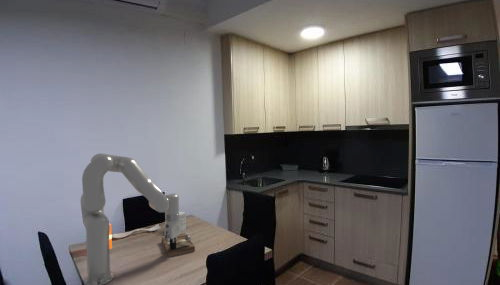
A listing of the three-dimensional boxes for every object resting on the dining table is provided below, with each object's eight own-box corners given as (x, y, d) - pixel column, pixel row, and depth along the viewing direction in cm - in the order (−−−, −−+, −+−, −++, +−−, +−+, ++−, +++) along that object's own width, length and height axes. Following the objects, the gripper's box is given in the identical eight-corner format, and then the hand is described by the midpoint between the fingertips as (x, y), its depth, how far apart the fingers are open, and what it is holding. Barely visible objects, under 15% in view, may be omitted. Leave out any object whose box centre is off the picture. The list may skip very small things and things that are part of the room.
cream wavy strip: (161, 231, 191) (161, 226, 191) (111, 241, 174) (111, 236, 174) (159, 228, 199) (158, 223, 198) (110, 237, 182) (110, 232, 182)
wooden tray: (194, 251, 157) (194, 241, 157) (168, 257, 150) (168, 246, 150) (185, 237, 178) (184, 228, 178) (161, 242, 172) (161, 232, 171)
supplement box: (171, 231, 191) (170, 213, 190) (178, 227, 197) (178, 210, 197) (179, 232, 187) (178, 214, 187) (186, 229, 194) (186, 212, 194)
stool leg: (189, 243, 160) (189, 237, 160) (190, 245, 157) (190, 239, 157) (166, 248, 154) (166, 241, 154) (167, 250, 151) (167, 243, 151)
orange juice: (106, 244, 169) (104, 213, 169) (112, 248, 164) (111, 215, 163) (92, 248, 163) (91, 216, 163) (98, 252, 158) (97, 219, 157)
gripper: (170, 221, 142) (170, 255, 142) (185, 213, 156) (186, 244, 157) (158, 220, 144) (159, 253, 145) (174, 212, 158) (175, 242, 159)
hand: (173, 248), depth 151 cm, fingers closed
